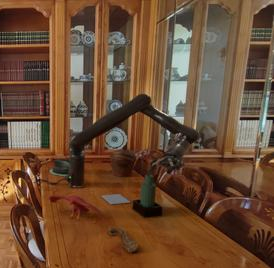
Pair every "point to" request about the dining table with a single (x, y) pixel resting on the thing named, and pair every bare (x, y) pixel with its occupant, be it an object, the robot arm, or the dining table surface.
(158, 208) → the holder
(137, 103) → the robot arm
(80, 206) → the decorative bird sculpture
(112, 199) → the coaster
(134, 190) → the dining table surface
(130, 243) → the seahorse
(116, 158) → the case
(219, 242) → the dining table surface
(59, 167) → the green hat
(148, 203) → the bottle
